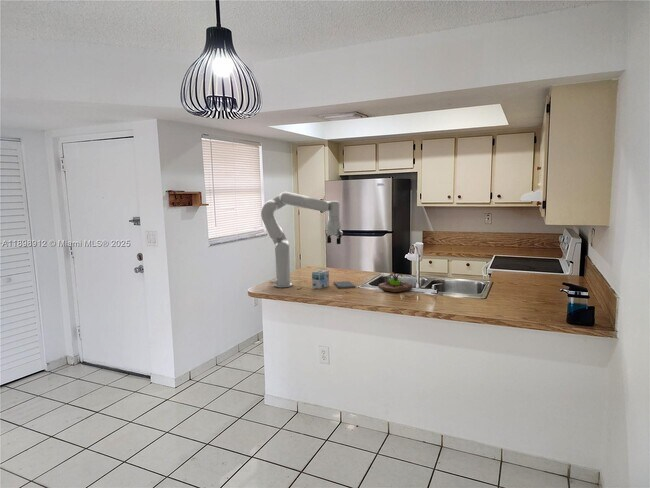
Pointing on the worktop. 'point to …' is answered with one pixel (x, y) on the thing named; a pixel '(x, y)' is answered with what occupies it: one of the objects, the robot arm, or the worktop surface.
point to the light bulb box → (320, 279)
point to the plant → (395, 284)
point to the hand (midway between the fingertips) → (333, 243)
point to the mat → (344, 284)
